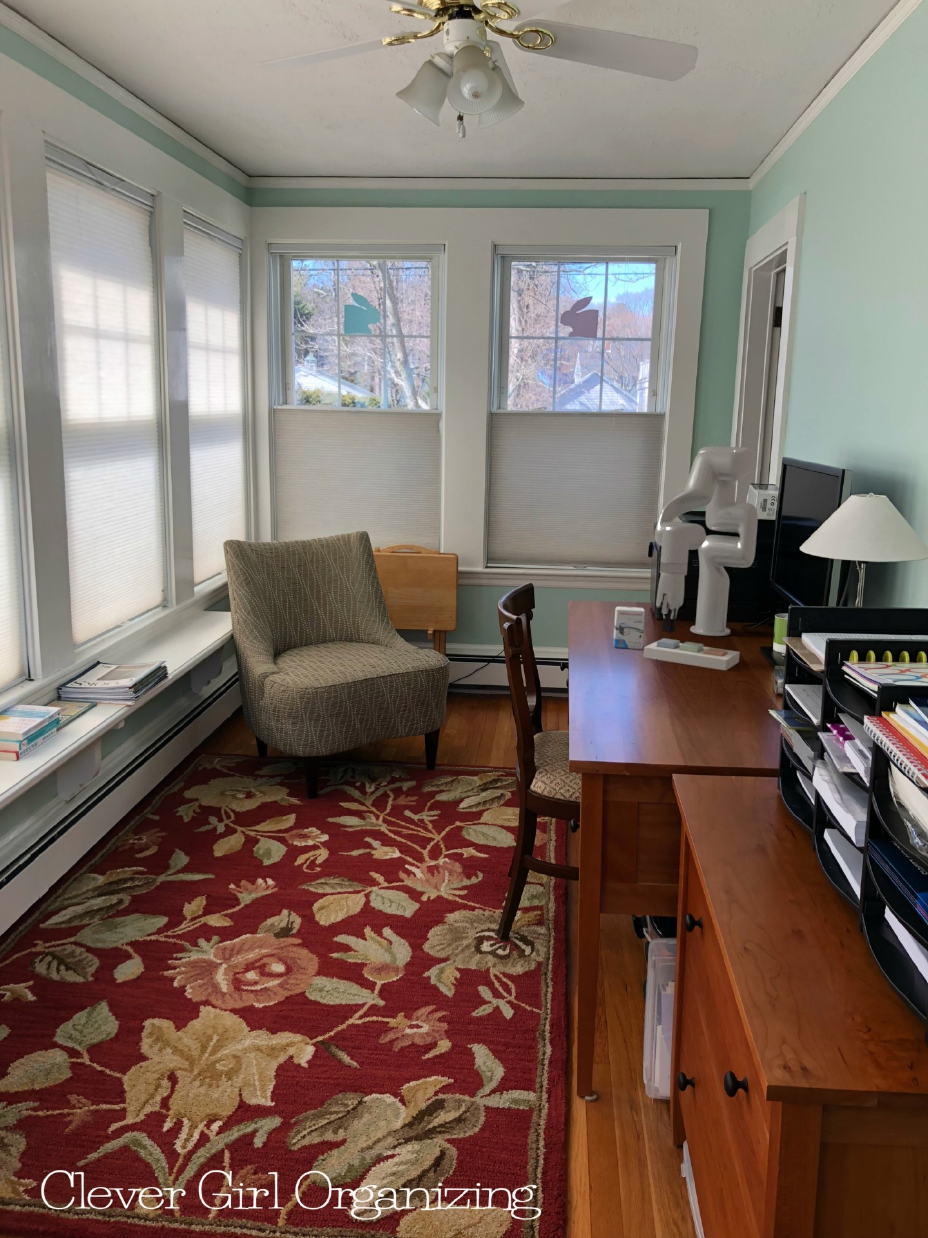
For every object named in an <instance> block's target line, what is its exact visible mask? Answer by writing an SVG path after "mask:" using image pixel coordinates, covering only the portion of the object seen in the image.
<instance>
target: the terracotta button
mask: <svg viewBox="0 0 928 1238" xmlns="http://www.w3.org/2000/svg"><path fill="white" fill-rule="evenodd" d="M713 648H714V647H710V648H709V649H708V650H706V651H704V654H709V655H715V656H722V657H723V656H724V655H726V654H727V651H726V650H727V649H723V650H719V649H720V648H716V649H713Z"/></svg>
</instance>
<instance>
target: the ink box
mask: <svg viewBox="0 0 928 1238" xmlns="http://www.w3.org/2000/svg"><path fill="white" fill-rule="evenodd" d="M645 614H646V610H645V609H644V607H633V606H616V607H615V610H614V622H613V623H614V625H613V643H612V645H613V647H614V648H615V649H616V648H617V649H618V648H619V649H636V650H643V649H644V647H643V645H644V632H645V617H646V615H645Z"/></svg>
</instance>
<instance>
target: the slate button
mask: <svg viewBox="0 0 928 1238" xmlns="http://www.w3.org/2000/svg"><path fill="white" fill-rule="evenodd" d="M680 643H681V640H677V639H670V638H662V639H659V640H657V647H662V648H669V649H676V648H678V647H679V646H680Z"/></svg>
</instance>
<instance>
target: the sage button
mask: <svg viewBox="0 0 928 1238" xmlns="http://www.w3.org/2000/svg"><path fill="white" fill-rule="evenodd" d="M703 647H704V643H699V642H698V643H697V642H692V641H691V642H690V641H684V642H683V644H681V645H680V650H682V651H689V652H695V653H699V652H701V651H702V650H703Z"/></svg>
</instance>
